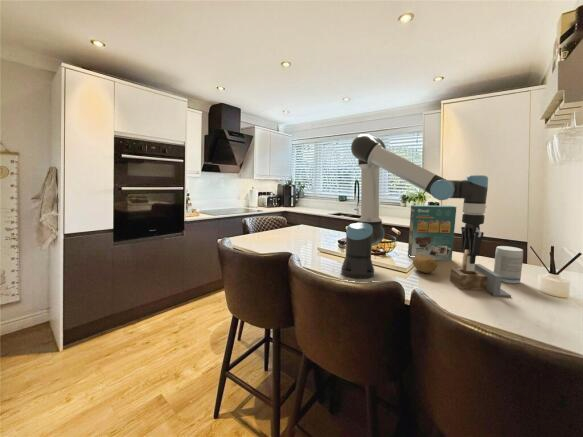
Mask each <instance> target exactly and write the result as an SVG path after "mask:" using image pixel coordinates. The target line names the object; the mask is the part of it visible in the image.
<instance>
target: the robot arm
mask: <svg viewBox="0 0 583 437" xmlns="http://www.w3.org/2000/svg"><path fill="white" fill-rule="evenodd" d="M350 149H351V153H352V155H353V157H354V158H356V159H357V160H358V167H359V168H360V169H361V173H360V174H361V175H360V177H361V184H360V185H361V186H360V188H361V190H360V192H361V193H360V195H361V196H360V197H361V198H360V200H361V201H360V205H361V206H360V215H361V216H360V217H359V218H358V219H357V222H355V223H350V224H348V225H347V227H346V232H345V235H346V236H345V258H344V260H343V262H342V265H341V274H342V275H344V276H346V277H347V278H353V279H370V278H373V277H374V276H375V268H374V264H373V260H372V248H373V247H376V246H377V245H379V244H380V243H381V242H383V240H384V237H385V229H384V227H383V221H382V218H380V217H379V215H380V212H379V211H380V168H381V169H383V170H385V171H387V173H390V174H392V175H394V176H396V177H398V178H400V179H401V180H403V181H405V182H406V183H409V184H411V185H413V186H415V187H416V188H418V189H419V190H422V191H424V192H425V193H427V194H429V195H431V197H433V198H434V199H436V200H438V201H446V200H449V199H463V203H462V204H463V207H462V216H461V217H462V219H461V223H463V224H464V226H461V228H460V229H461V241H460V249H461V251H462V253H463V254H462V264H461V265H462V266H461V269H463V264H464V254H465V249H469V254H467V255H468V257H467V267H466V271H474V269H475V264H476V259H477V258H476V257H478V256H480V255H481V249H482V248H481V247H482V242H483V237H484V235H485V234H484V232H483V231H481V230H480V229H481V227H480V226H481V225H484V223H485V213H486V208H487V196H488V187H489V178H488V176H487V175H483V174H482V175H479V174H476V175H475V174H474V175H466V177H465V179H463V180H460V179H459V180H456V179H455V180H452V179H451V180H449V179H446V178H444V177H442V176H440V175H438V174H435V173H433V172H432V171H429V169H426V168H424V167H422V166H420V165H419V164H416V163H414V162H413V161H410V160H408V159H406V158H405V157H402V156H400V155H398V154H396V153H394V152H393V151H390V150H388V149H387V147H386V145H385V143H384V142H383V140H382V139H380V138H379V137H377V136H373V135H371V134H366V133H365V134H359V135H358V136H356V137H355V138H354V139H353V141H352V142H351V146H350Z"/></svg>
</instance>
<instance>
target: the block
mask: <svg viewBox="0 0 583 437" xmlns="http://www.w3.org/2000/svg"><path fill="white" fill-rule="evenodd" d="M449 275H450V276H449V282H450V283H452V284H453V285H454V286H455V287H456V288H457V289H459V290H467V291H468V290H469V291H483V292H484V291H485V292H487V291H486V285H487V276H486V275H484V274H483V273H481V272H479V271H478V270H476V269H474V271H473V274H464V273H463V268H457V267H451V268H450V274H449Z"/></svg>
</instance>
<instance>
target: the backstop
mask: <svg viewBox="0 0 583 437" xmlns="http://www.w3.org/2000/svg"><path fill="white" fill-rule="evenodd" d="M475 269H476V270H478V271H479V272H481V273H483V274H484V275H486V276H487V285H486V291H485V292H487V293H488V294H490V296H492V297H499V298H512V295H511V294H509V293H508V292H506V291H505V290H503V289H502V288H501V286H502V282H501V279H502V276H500V275H498V274H496V273H494V270H493V271H492V270H490V269H489V268H487V267H486V266H484V265H482V264H480V263H475Z"/></svg>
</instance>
